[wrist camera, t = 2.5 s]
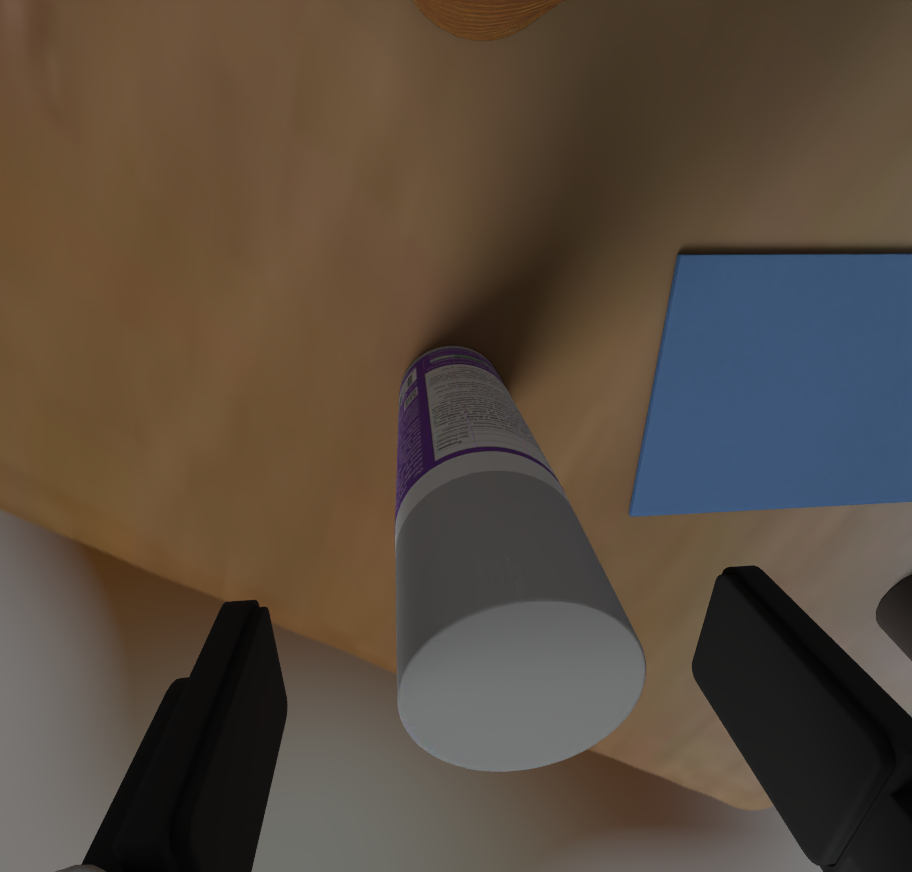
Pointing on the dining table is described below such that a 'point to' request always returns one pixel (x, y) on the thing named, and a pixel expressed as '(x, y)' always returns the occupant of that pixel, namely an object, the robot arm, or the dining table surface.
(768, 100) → the dining table surface
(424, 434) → the container
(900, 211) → the dining table surface
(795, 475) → the napkin
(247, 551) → the dining table surface
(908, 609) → the coffee cup
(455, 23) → the disposable coffee cup
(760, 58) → the dining table surface
